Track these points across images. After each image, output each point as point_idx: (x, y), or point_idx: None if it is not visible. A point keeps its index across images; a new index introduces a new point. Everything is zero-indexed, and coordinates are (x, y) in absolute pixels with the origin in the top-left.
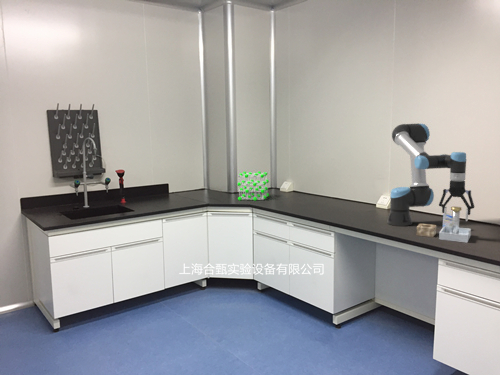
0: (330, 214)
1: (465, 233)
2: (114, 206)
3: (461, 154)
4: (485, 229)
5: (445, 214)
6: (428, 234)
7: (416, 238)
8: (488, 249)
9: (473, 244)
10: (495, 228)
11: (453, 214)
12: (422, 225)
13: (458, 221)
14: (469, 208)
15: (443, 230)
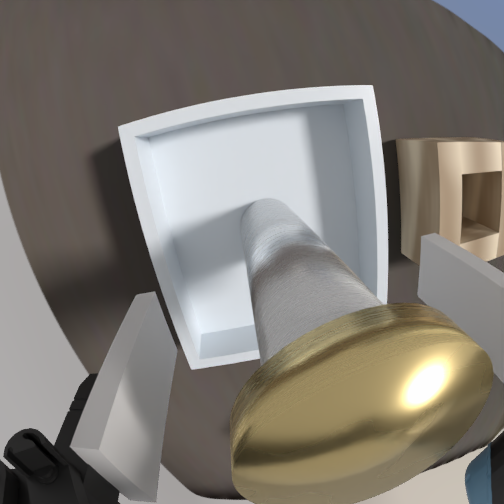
0: None
1: (223, 331)
2: None
3: None
4: (193, 456)
5: (465, 263)
6: (430, 138)
7: (450, 58)
8: (11, 79)
9: (92, 114)
10: (172, 474)
11: (364, 289)
12: (499, 211)
13: (252, 268)
14: (13, 452)
15: (369, 238)
